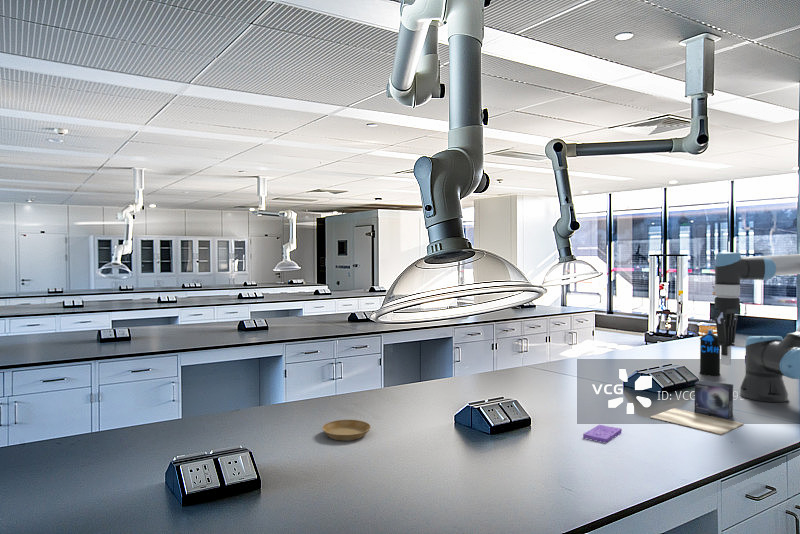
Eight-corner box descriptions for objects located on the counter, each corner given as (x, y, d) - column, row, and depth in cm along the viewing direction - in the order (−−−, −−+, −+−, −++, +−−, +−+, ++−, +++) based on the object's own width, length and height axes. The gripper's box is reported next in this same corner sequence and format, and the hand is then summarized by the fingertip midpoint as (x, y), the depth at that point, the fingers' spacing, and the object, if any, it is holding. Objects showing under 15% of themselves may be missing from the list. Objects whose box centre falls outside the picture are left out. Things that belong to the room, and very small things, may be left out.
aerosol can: (700, 371, 253) (701, 327, 253) (721, 373, 248) (722, 328, 248) (698, 374, 247) (698, 329, 246) (719, 376, 242) (719, 331, 241)
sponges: (582, 439, 165) (582, 433, 165) (599, 429, 174) (599, 423, 174) (606, 445, 160) (606, 438, 160) (621, 434, 170) (621, 428, 170)
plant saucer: (367, 426, 178) (367, 418, 178) (373, 441, 164) (373, 433, 164) (321, 429, 176) (321, 420, 176) (323, 445, 161) (322, 436, 161)
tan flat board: (674, 409, 194) (674, 408, 194) (743, 424, 176) (743, 423, 176) (650, 417, 184) (650, 416, 184) (721, 435, 167) (721, 433, 167)
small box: (693, 413, 189) (693, 382, 189) (698, 409, 194) (699, 379, 193) (728, 419, 182) (729, 387, 181) (733, 415, 186) (733, 384, 186)
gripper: (723, 295, 200) (722, 360, 200) (707, 297, 192) (705, 365, 192) (746, 296, 194) (745, 363, 194) (730, 298, 186) (729, 368, 186)
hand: (725, 364), depth 193 cm, fingers closed
